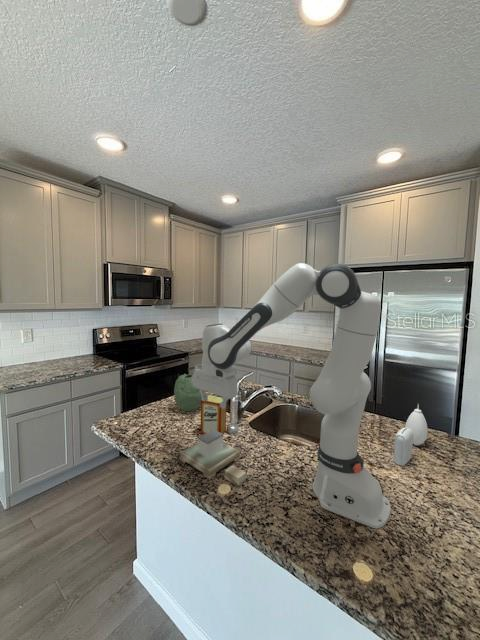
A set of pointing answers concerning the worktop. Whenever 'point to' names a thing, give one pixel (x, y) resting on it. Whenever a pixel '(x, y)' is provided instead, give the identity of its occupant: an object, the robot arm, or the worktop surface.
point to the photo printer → (403, 446)
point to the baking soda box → (213, 415)
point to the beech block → (235, 475)
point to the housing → (210, 443)
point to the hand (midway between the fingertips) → (213, 404)
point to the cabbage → (187, 393)
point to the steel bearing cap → (232, 428)
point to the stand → (209, 459)
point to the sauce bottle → (417, 426)
